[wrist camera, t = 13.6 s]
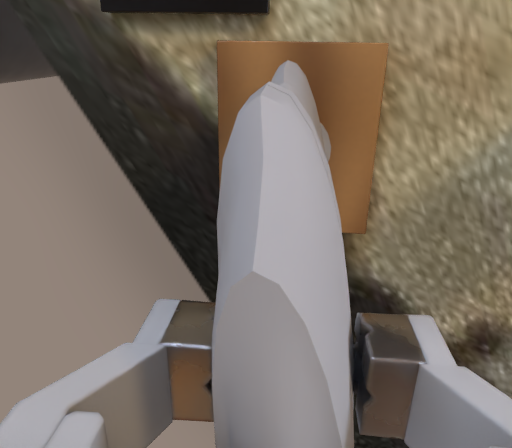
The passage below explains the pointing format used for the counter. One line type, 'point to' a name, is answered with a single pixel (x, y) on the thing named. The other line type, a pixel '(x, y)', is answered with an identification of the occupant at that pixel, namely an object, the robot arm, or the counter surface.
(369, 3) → the counter surface
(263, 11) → the black rectangular frame
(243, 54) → the oak board
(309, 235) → the tall pale column
